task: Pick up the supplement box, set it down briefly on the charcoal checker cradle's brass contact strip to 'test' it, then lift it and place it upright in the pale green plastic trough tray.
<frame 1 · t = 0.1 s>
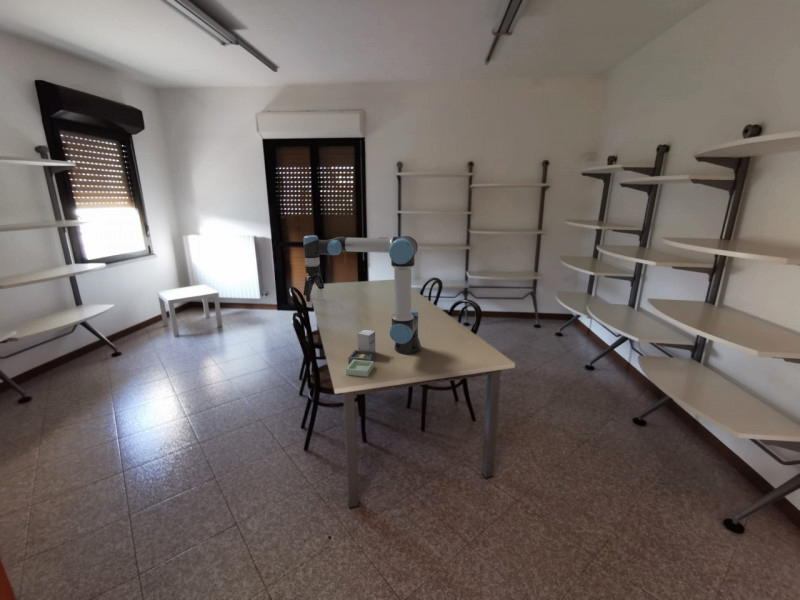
hand: (315, 303, 200), 28 cm above the table, fingers open, 13 cm apart
trough tray: (360, 370, 184), on the table
checker cradle: (361, 360, 195), on the table
supplement box: (366, 353, 204), on the table
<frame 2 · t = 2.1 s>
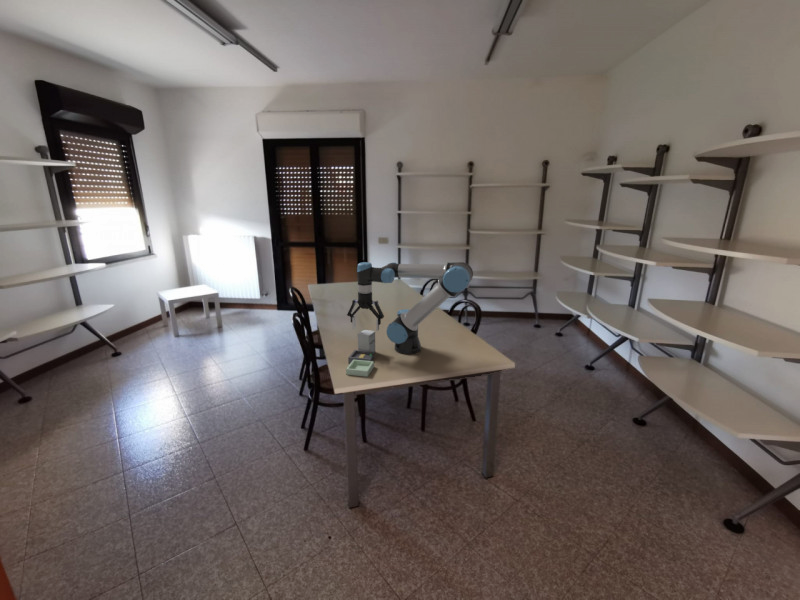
hand: (365, 329, 200), 14 cm above the table, fingers open, 13 cm apart
nothing on the table moved.
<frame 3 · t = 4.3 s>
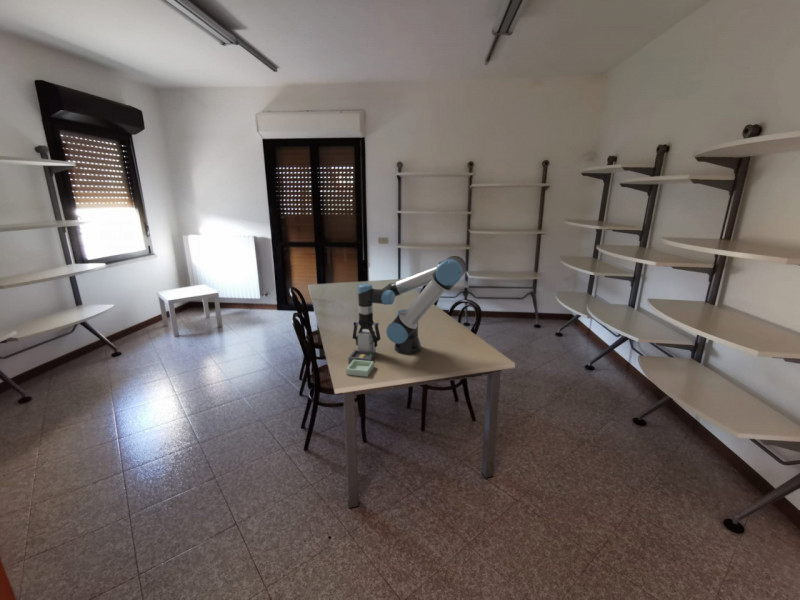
hand: (366, 351, 204), 1 cm above the table, fingers closed on supplement box, 8 cm apart
supplement box: (366, 353, 204), on the table, touching gripper
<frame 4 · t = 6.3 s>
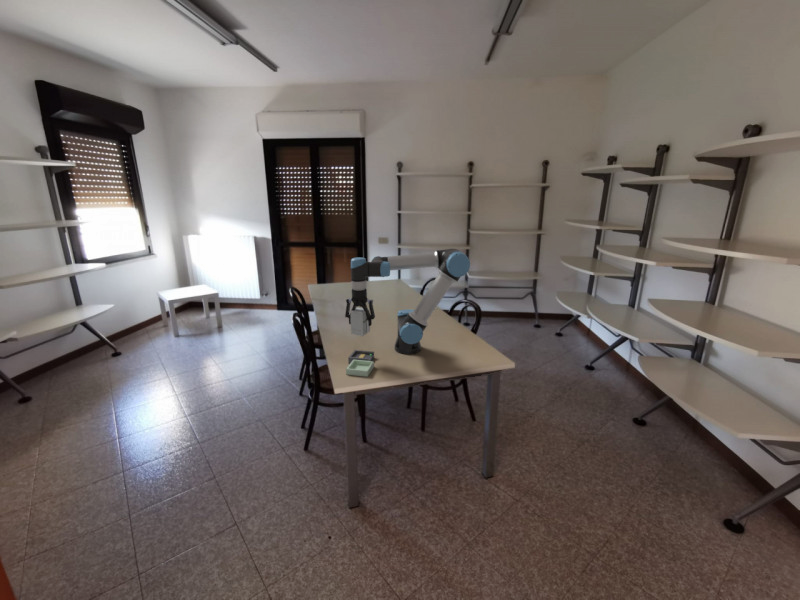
hand: (360, 330, 190), 17 cm above the table, fingers closed on supplement box, 8 cm apart
supplement box: (360, 333, 191), point 16 cm above the table, touching gripper
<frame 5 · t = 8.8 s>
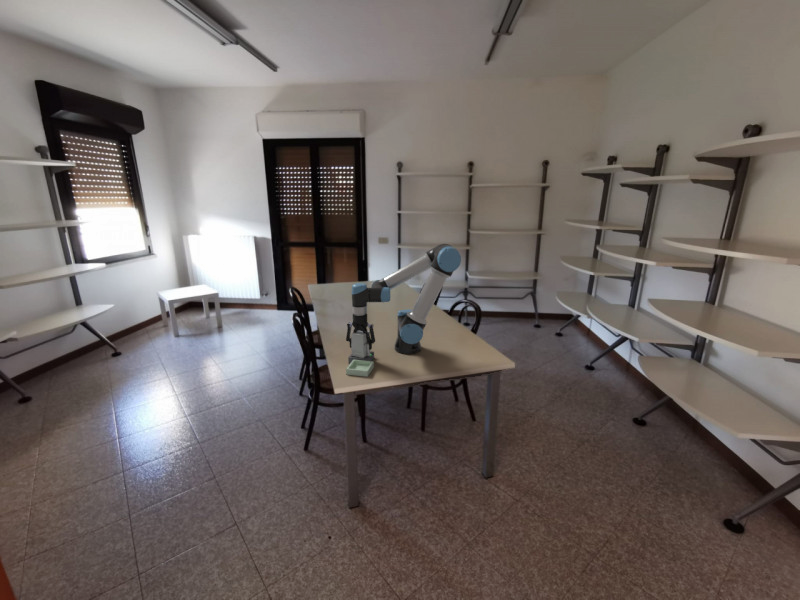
hand: (361, 354, 194), 4 cm above the table, fingers closed on supplement box, 8 cm apart
supplement box: (361, 354, 194), point 3 cm above the table, touching checker cradle, gripper
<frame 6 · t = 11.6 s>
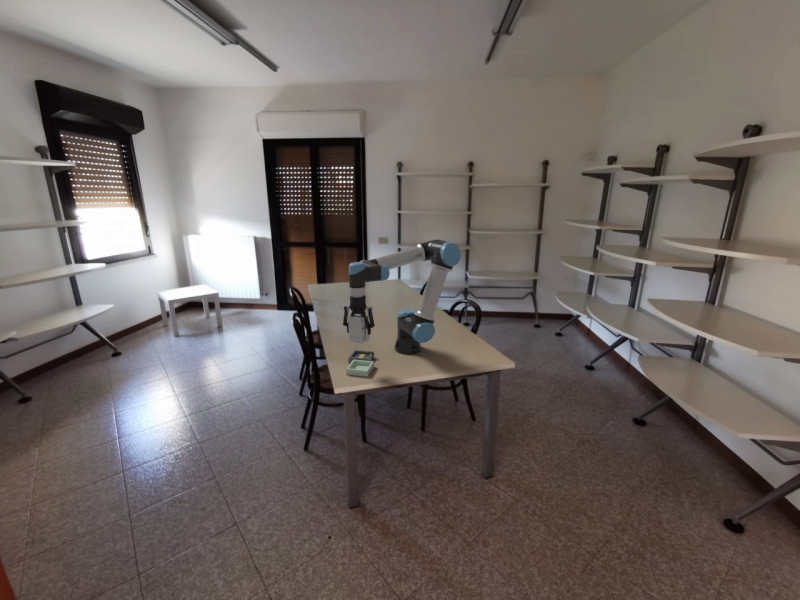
hand: (359, 339, 180), 17 cm above the table, fingers closed on supplement box, 8 cm apart
supplement box: (359, 340, 180), point 16 cm above the table, touching gripper
when the fingers open (5 cm above the table, at t = 14.5 s): supplement box drops 4 cm, resting on trough tray.
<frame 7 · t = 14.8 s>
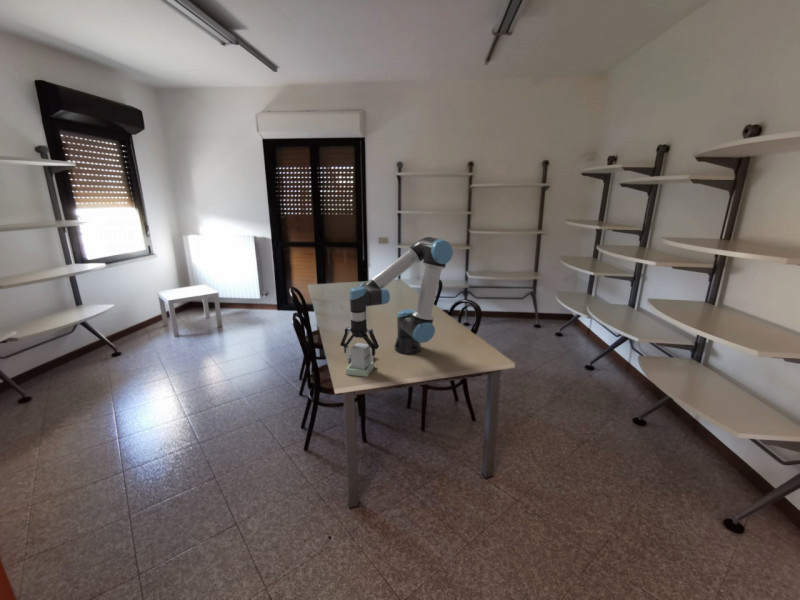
hand: (360, 360, 183), 6 cm above the table, fingers open, 12 cm apart
supplement box: (361, 369, 184), point 1 cm above the table, touching trough tray
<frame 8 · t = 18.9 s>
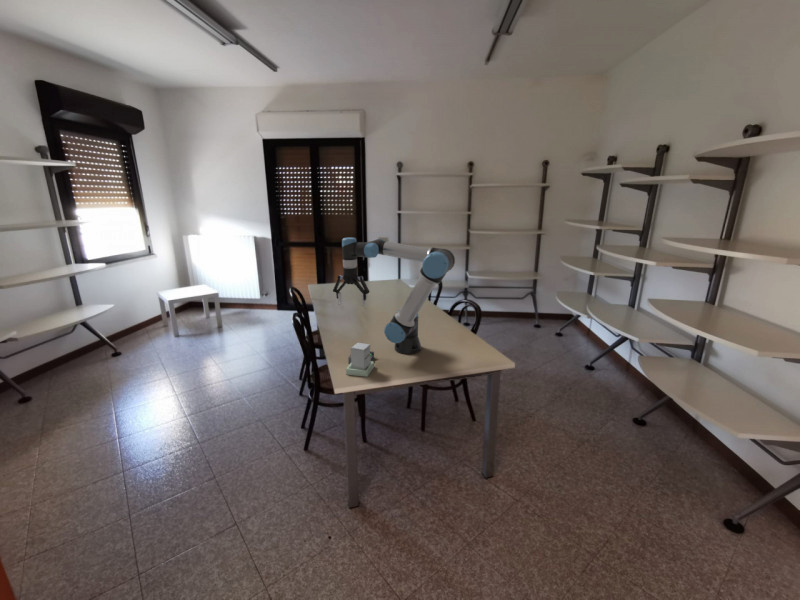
hand: (351, 305, 201), 27 cm above the table, fingers open, 13 cm apart
nothing on the table moved.
at the end: supplement box inside the target area on the trough tray (0.4 cm from its centre), point 0.6 cm above the trough tray's base; supplement box tilted 0°; the gripper is holding nothing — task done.
